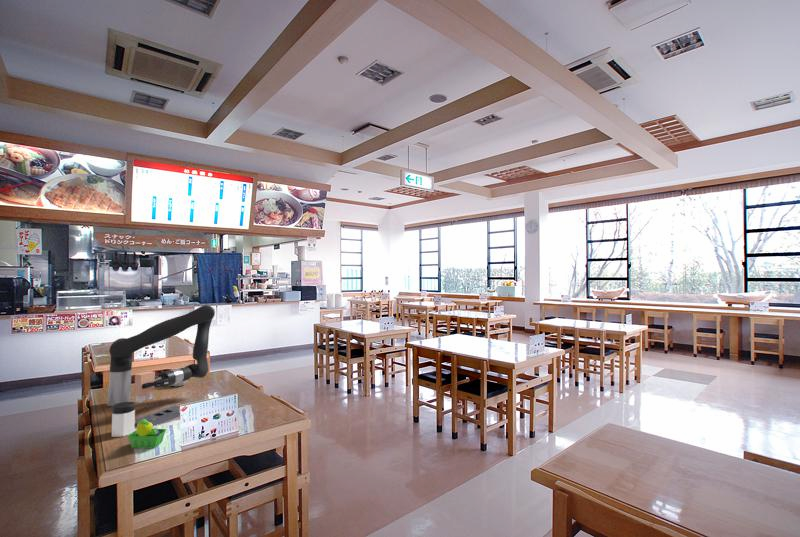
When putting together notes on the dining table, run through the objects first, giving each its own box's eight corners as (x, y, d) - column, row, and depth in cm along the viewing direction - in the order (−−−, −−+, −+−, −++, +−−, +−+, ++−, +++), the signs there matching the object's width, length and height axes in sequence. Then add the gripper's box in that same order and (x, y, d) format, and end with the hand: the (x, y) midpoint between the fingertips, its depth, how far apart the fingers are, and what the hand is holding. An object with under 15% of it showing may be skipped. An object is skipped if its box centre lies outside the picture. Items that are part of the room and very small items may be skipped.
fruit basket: (167, 441, 161) (167, 413, 161) (154, 451, 152) (155, 421, 153) (138, 441, 161) (139, 413, 161) (124, 450, 152) (124, 421, 152)
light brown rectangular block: (140, 403, 186) (141, 375, 186) (133, 401, 187) (135, 374, 187) (153, 398, 192) (155, 371, 193) (147, 397, 194) (149, 370, 194)
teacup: (180, 388, 233) (181, 374, 233) (162, 388, 233) (163, 374, 233) (193, 382, 247) (194, 369, 247) (176, 381, 247) (176, 368, 247)
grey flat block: (150, 427, 175) (150, 421, 175) (135, 424, 178) (135, 418, 178) (188, 412, 194) (188, 407, 194) (174, 410, 197) (174, 405, 197)
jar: (139, 429, 173) (140, 401, 173) (128, 436, 165) (129, 407, 165) (117, 429, 172) (118, 401, 172) (105, 437, 164) (106, 408, 164)
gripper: (161, 368, 206) (128, 376, 190) (182, 371, 201) (150, 379, 185) (160, 383, 206) (128, 391, 190) (181, 386, 201) (149, 396, 185)
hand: (139, 385), depth 187 cm, fingers closed on light brown rectangular block, 4 cm apart
